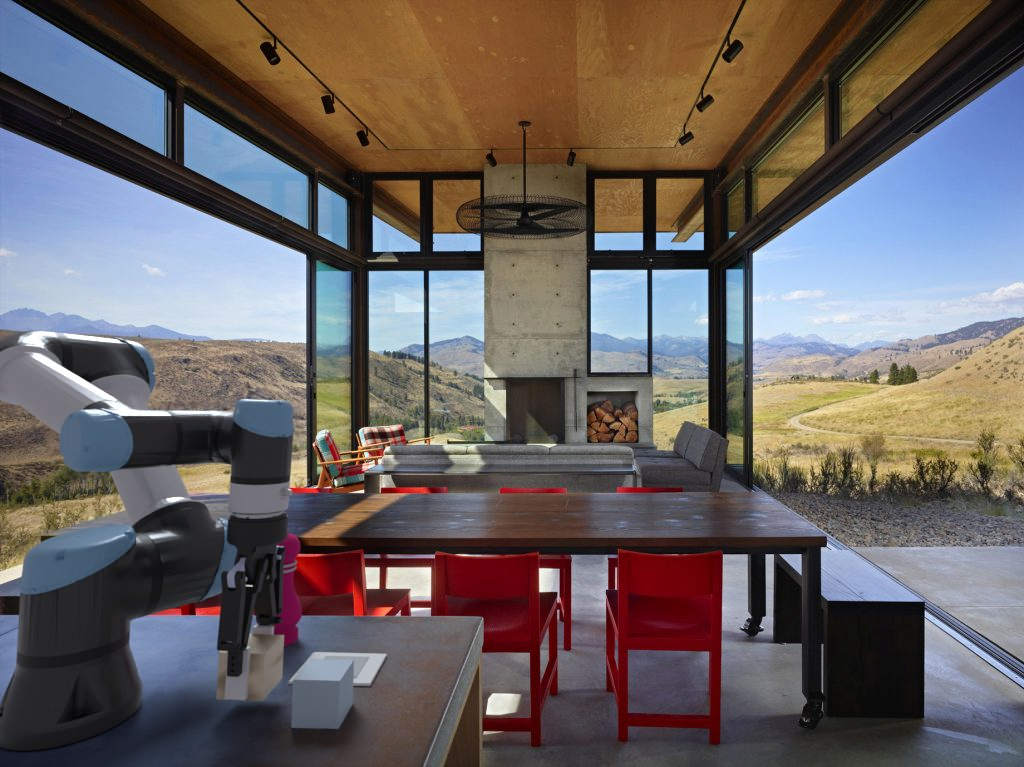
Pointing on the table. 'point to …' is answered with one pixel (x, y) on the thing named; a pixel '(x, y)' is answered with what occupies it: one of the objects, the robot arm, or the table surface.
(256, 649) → the maple cube
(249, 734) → the table surface
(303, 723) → the slate cube
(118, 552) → the robot arm
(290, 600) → the pepper mill
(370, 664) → the mat
